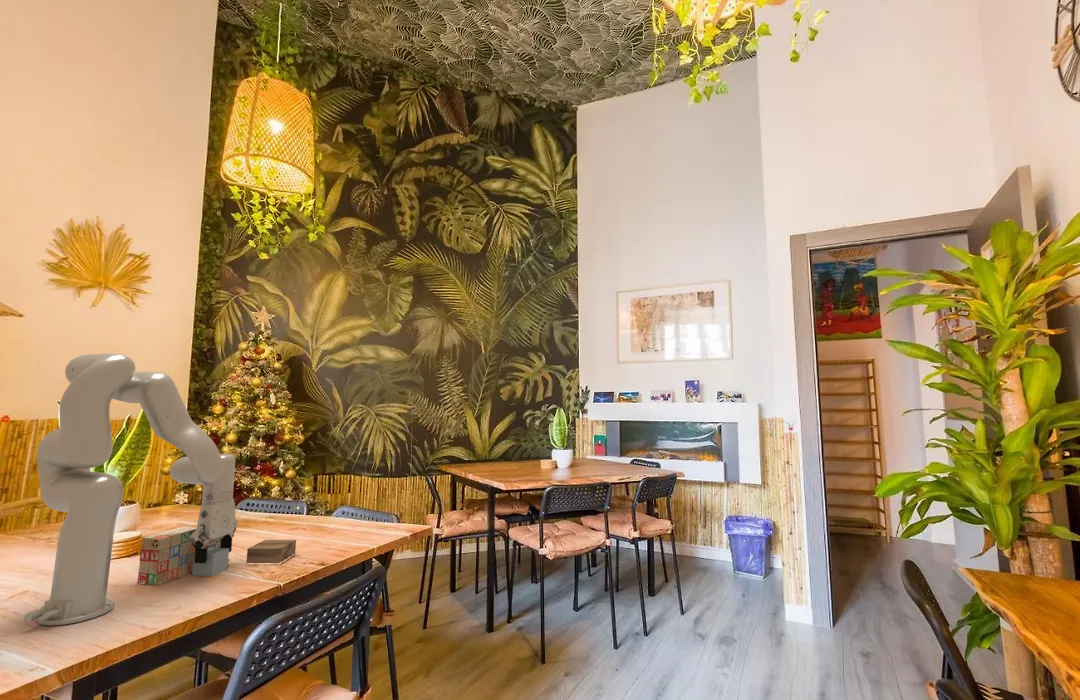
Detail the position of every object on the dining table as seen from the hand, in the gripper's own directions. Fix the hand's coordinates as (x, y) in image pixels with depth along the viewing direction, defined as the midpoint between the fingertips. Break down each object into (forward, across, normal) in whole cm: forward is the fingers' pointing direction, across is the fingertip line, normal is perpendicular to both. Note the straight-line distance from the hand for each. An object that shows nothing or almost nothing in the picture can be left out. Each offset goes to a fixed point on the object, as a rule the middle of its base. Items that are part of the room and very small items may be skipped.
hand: (213, 557), depth 139 cm
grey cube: (+4, -1, 0) cm, 4 cm away
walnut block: (+5, +12, -10) cm, 16 cm away
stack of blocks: (+4, -1, +8) cm, 9 cm away
